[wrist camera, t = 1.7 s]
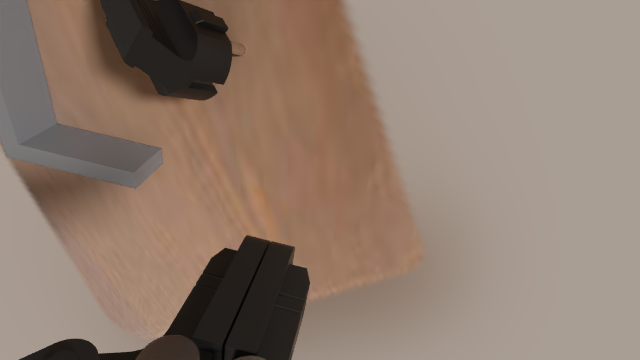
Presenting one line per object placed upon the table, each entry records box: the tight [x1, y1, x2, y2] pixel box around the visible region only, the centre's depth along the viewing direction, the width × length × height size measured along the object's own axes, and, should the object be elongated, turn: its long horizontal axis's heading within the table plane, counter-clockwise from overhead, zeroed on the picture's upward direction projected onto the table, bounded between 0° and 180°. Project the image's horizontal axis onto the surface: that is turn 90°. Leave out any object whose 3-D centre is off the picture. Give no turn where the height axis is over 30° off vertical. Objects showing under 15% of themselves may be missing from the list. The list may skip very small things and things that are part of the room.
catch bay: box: [0, 0, 163, 189], centre depth 26 cm, size 21×11×4 cm, turn 170°
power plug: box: [101, 0, 246, 100], centre depth 25 cm, size 6×8×12 cm
